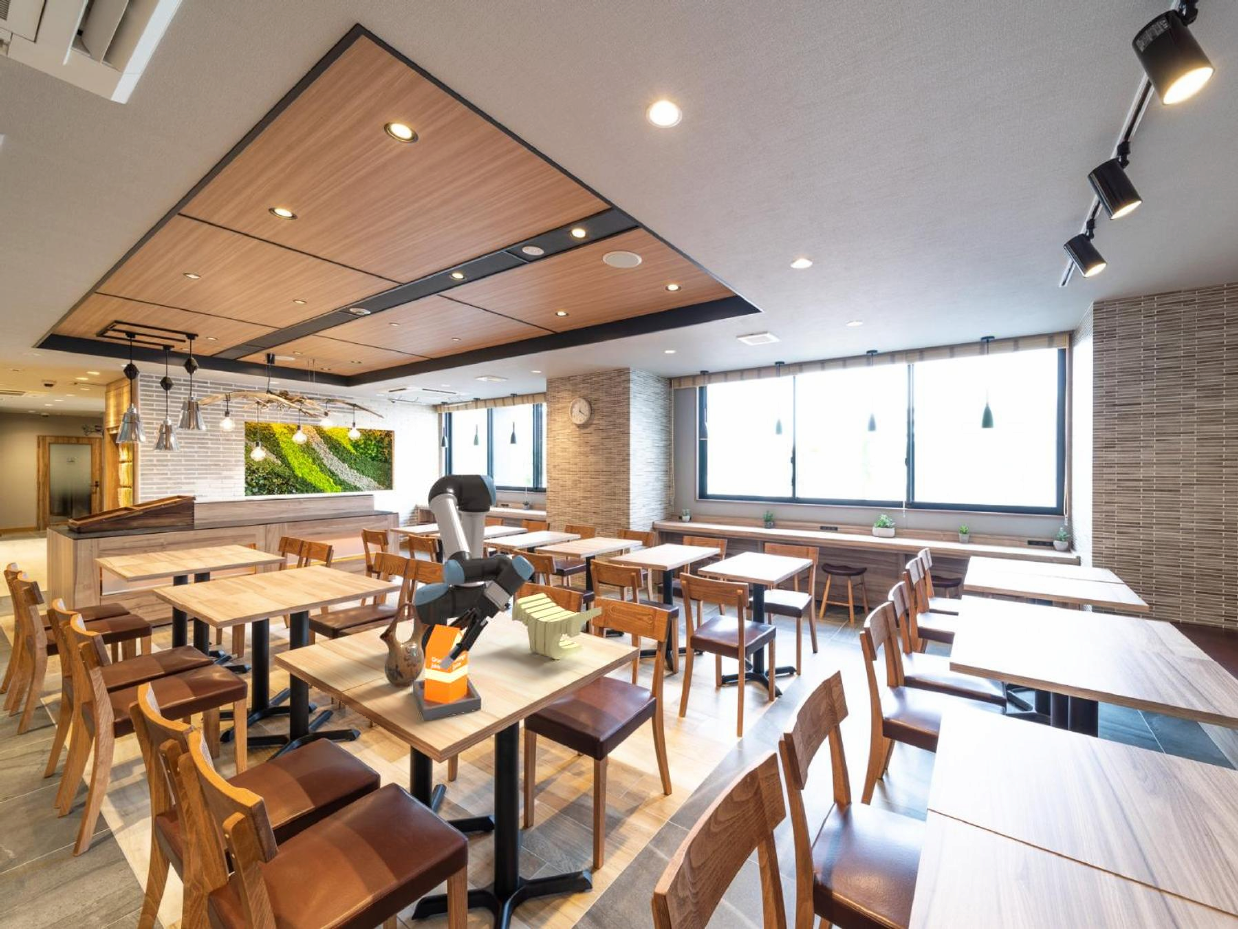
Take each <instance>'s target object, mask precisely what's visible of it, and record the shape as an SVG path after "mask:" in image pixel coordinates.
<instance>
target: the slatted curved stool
mask: <svg viewBox="0 0 1238 929" xmlns="http://www.w3.org/2000/svg"><path fill="white" fill-rule="evenodd" d="M602 609H603V608H602V605H601V606H598V607H594V608H591V609H588V610H585V611H583V612H575V611H570V610H566V609H565V608H563V607H561V606H560V605H557V604H556V603H555V602H553V601H552V600H551V599H550V598H549V597H547V595H546V594H545V593H544V592H542V593H538V594H533V595H530V596H526V597H525V596H524V597H520V598H518V599H517V600H516V601H515V602H514V603H513V606H512V610H511V611H512V614H511V621H513V622H514V621H517V622H522V624H523V625H524V626H525V627H527V628H526V630H527V635H528V642H529V650H530V651H531V652H533V653H536V654H539V655H541V656H545V657H548V658H551V659H554V660H557V659H560V660H562V659H561V658H563V657H565V658H567V656H568V655H570V656H572V655H575V654H578V653H580V652H582V651H581V650H583V646H582V644H581V643H577V642H574V641H571V640H567V639H563V638H562V637H563V635H567V637H569V638H576V637H578V636H580V635H581V631H582V628H583V626H584V625H585V623H587V622H588V621H589V620H591V619H593V618H595V617H597V616H599V615H602V614H603V613H602V612H603V611H602ZM579 651H580V652H579ZM583 651H584V650H583ZM574 653H575V654H574ZM568 657H569V656H568ZM563 659H564V658H563ZM557 661H558V660H557Z"/></svg>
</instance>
